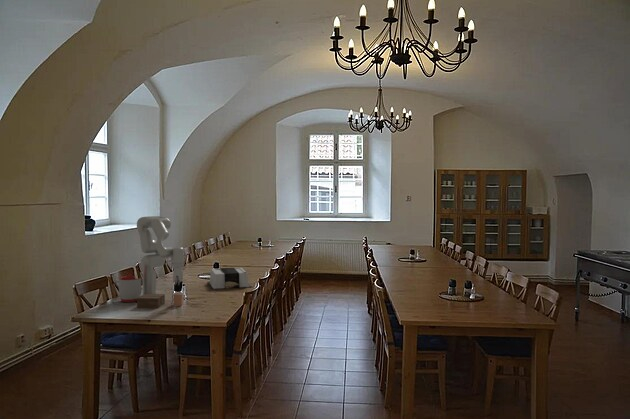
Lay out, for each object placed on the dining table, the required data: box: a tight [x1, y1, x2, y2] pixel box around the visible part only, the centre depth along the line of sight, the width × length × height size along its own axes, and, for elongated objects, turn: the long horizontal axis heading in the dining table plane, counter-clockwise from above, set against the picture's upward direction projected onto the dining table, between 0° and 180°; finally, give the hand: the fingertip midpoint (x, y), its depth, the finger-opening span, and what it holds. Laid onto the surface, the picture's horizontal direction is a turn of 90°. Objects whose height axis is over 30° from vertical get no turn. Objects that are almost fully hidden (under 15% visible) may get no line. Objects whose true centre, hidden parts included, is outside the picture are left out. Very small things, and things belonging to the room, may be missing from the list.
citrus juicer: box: [118, 273, 143, 304], centre depth 359 cm, size 16×17×20 cm
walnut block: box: [136, 293, 166, 309], centre depth 345 cm, size 14×14×7 cm
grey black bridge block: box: [206, 267, 252, 290], centre depth 422 cm, size 35×33×12 cm
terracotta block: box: [172, 292, 185, 307], centre depth 348 cm, size 6×6×8 cm
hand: (178, 289), depth 347 cm, fingers open, 9 cm apart
